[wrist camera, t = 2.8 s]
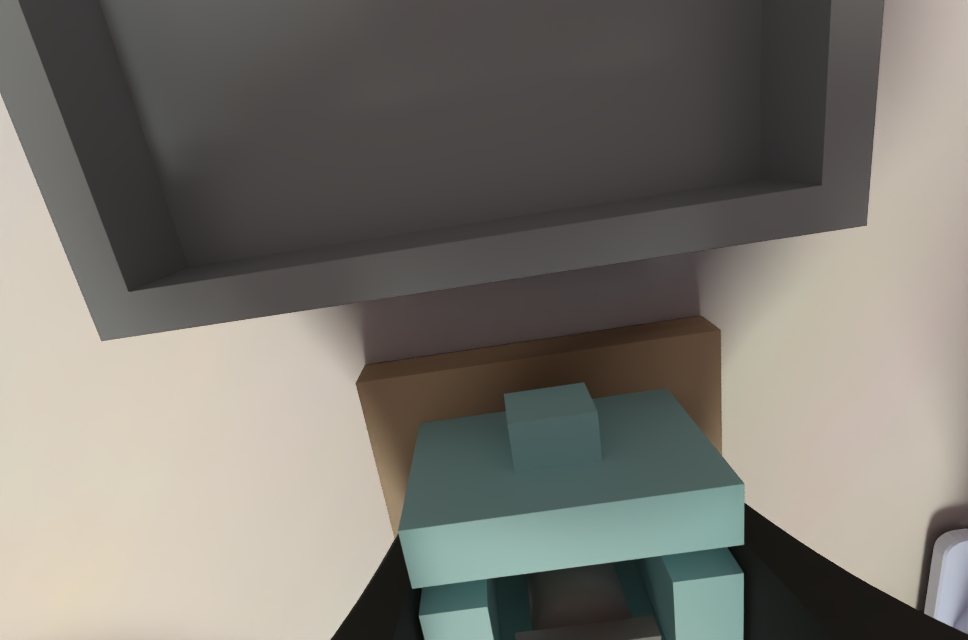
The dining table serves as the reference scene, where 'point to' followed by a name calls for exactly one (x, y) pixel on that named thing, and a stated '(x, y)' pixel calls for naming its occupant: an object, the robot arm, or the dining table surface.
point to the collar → (573, 513)
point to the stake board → (535, 365)
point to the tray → (425, 140)
